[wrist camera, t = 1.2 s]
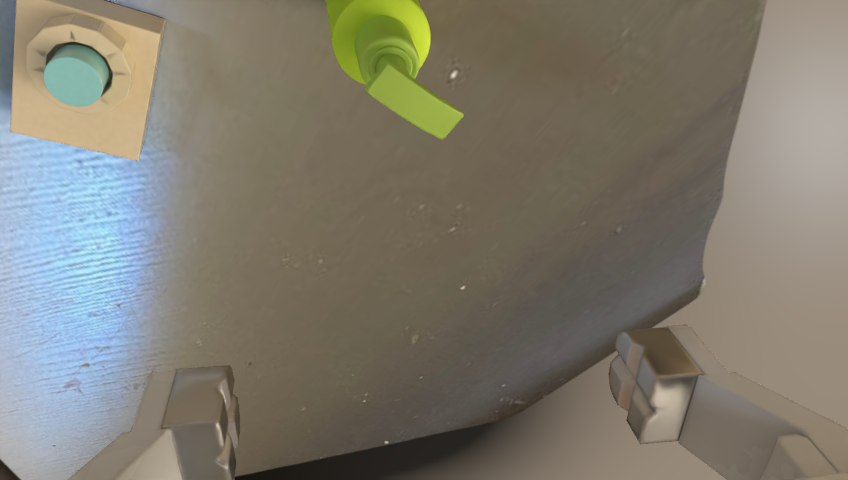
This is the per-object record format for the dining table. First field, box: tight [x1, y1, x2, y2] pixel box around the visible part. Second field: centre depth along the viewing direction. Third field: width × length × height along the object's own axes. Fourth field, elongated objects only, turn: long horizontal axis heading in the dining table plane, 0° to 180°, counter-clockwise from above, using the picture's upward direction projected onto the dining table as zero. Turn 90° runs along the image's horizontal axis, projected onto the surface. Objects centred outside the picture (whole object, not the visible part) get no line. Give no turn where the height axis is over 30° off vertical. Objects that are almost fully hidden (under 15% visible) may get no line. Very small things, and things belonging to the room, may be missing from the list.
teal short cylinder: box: [43, 45, 109, 107], centre depth 44 cm, size 4×4×2 cm
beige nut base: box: [10, 0, 166, 161], centre depth 47 cm, size 11×9×5 cm
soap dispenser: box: [326, 0, 464, 139], centre depth 41 cm, size 6×7×20 cm
